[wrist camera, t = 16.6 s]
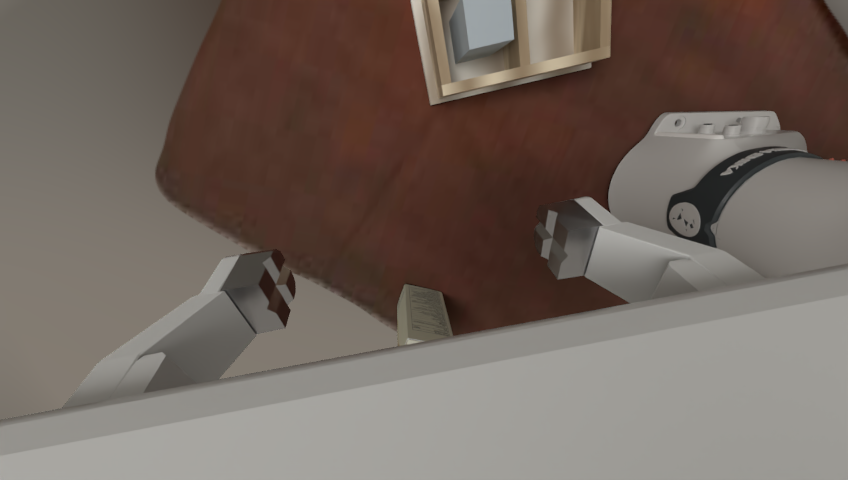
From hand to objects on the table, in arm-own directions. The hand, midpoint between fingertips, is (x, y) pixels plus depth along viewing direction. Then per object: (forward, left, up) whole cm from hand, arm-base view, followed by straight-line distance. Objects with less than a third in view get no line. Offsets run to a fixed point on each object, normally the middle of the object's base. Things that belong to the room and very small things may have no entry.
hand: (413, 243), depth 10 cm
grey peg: (-9, -10, -30) cm, 33 cm away
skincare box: (+3, +22, -31) cm, 38 cm away
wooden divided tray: (-13, -10, -31) cm, 35 cm away
